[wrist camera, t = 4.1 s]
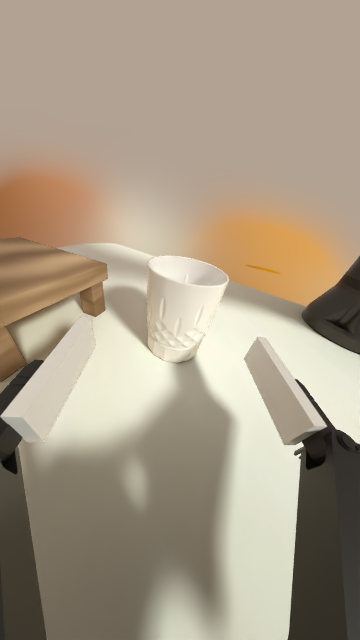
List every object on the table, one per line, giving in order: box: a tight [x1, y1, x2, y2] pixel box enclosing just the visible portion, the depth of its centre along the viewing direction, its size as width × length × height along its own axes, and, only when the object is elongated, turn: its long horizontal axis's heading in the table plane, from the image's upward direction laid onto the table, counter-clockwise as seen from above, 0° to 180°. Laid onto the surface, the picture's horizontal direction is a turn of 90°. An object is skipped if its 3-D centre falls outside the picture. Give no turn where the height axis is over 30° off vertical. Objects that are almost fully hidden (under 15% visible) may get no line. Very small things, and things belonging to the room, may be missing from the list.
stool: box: [0, 237, 108, 381], centre depth 18 cm, size 14×14×7 cm
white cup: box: [147, 256, 229, 363], centre depth 18 cm, size 8×8×10 cm
